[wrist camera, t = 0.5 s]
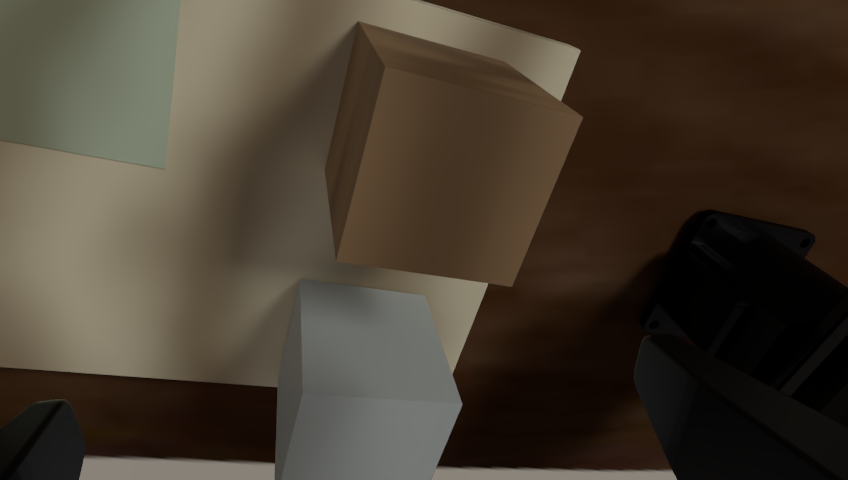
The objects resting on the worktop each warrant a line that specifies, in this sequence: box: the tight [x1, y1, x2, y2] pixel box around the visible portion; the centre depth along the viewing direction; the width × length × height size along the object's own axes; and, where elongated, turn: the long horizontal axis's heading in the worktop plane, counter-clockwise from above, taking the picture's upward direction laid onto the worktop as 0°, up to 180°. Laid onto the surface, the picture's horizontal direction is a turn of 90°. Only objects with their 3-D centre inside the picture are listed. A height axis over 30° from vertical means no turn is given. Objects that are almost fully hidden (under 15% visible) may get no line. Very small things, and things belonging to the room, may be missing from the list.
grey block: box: [275, 279, 462, 480], centre depth 21 cm, size 5×5×6 cm
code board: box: [0, 0, 581, 387], centre depth 20 cm, size 20×16×1 cm
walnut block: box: [325, 21, 583, 287], centre depth 17 cm, size 5×5×6 cm
